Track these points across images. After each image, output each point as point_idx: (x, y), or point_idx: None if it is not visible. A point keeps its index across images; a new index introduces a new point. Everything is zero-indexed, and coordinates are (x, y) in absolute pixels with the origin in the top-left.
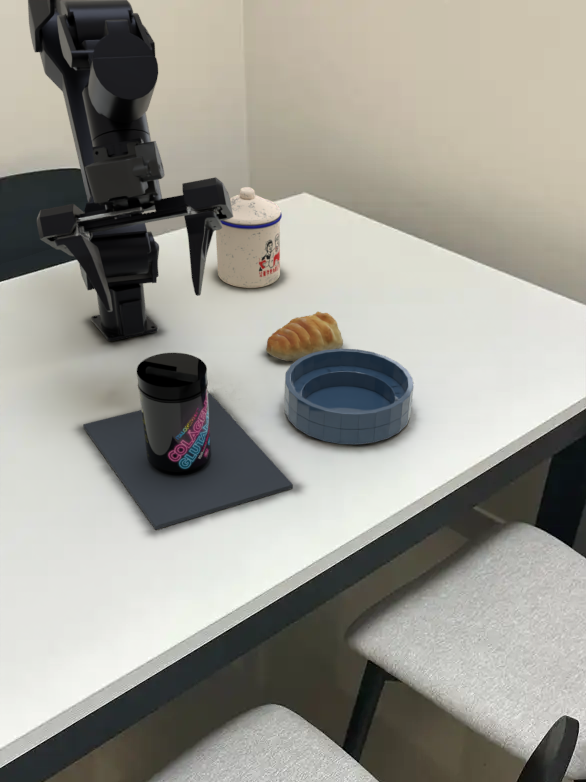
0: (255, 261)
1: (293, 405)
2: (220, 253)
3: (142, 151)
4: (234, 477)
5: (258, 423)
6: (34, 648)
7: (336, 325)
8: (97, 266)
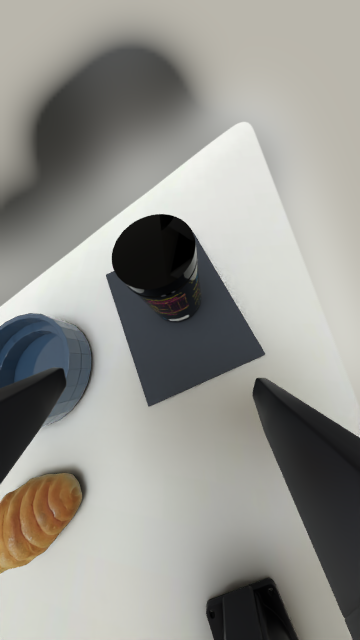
0: None
1: (76, 345)
2: None
3: None
4: None
5: (115, 356)
6: (248, 152)
7: None
8: (358, 510)
